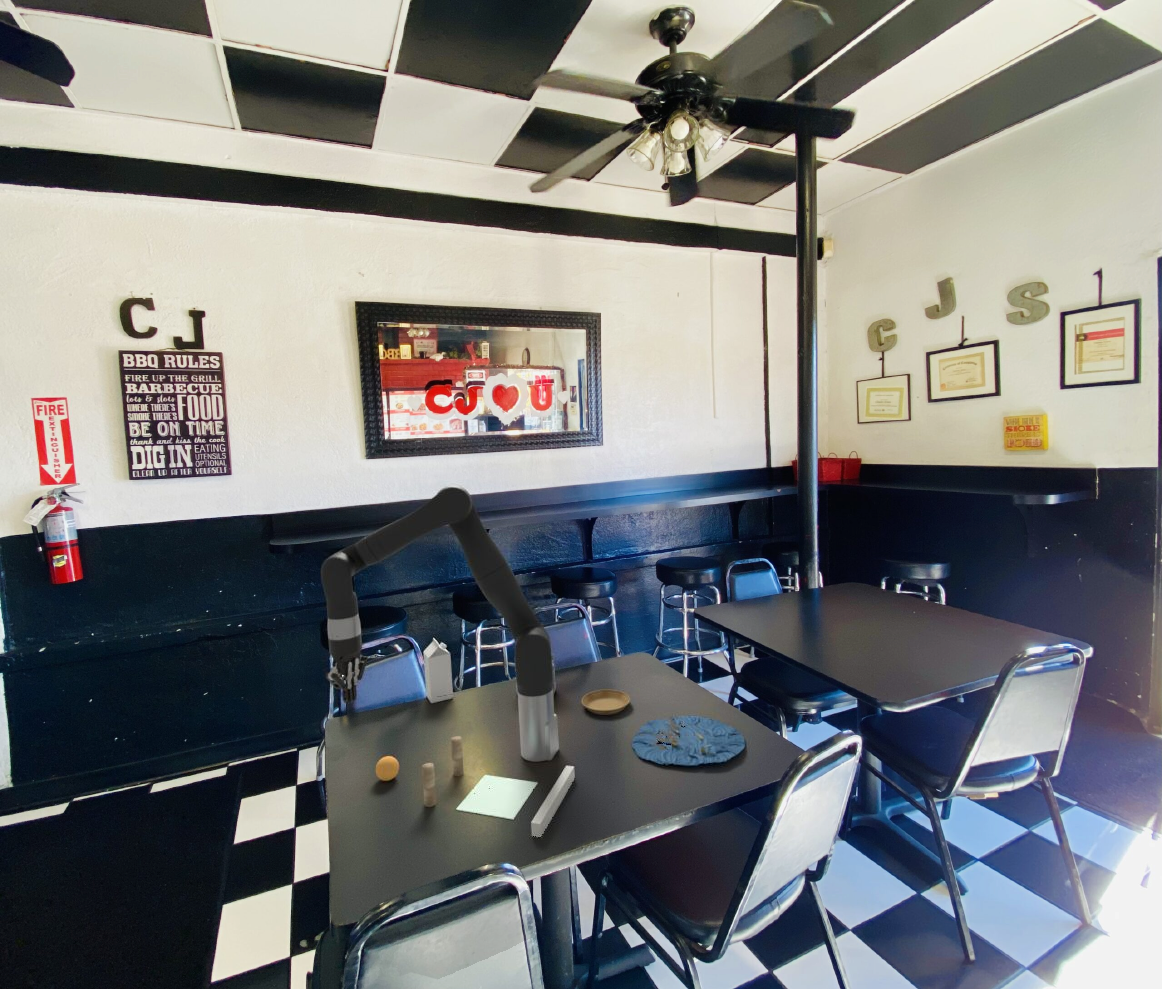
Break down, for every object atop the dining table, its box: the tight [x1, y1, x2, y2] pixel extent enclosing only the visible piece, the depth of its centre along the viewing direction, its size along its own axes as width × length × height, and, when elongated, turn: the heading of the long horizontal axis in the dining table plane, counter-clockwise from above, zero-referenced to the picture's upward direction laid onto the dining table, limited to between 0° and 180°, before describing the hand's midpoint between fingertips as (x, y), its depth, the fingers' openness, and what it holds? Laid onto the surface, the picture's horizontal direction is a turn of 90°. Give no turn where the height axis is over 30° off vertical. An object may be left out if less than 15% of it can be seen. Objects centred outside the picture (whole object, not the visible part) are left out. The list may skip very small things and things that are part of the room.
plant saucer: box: [581, 689, 631, 716], centre depth 179 cm, size 15×15×3 cm
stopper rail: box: [530, 765, 576, 838], centre depth 131 cm, size 2×22×3 cm, turn 162°
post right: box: [450, 735, 465, 777], centre depth 145 cm, size 3×3×9 cm
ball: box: [375, 755, 400, 782], centre depth 144 cm, size 6×6×6 cm
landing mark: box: [455, 774, 539, 821], centre depth 135 cm, size 14×14×1 cm
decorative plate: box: [631, 715, 746, 767], centre depth 155 cm, size 30×30×5 cm
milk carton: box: [423, 637, 454, 704], centre depth 190 cm, size 7×7×19 cm
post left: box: [421, 762, 437, 808], centre depth 133 cm, size 3×3×9 cm
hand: (350, 701), depth 146 cm, fingers closed
